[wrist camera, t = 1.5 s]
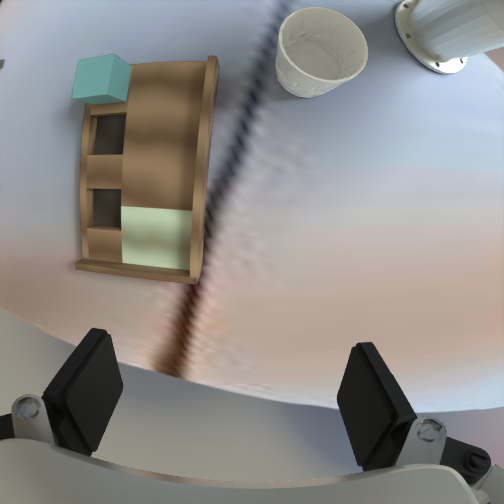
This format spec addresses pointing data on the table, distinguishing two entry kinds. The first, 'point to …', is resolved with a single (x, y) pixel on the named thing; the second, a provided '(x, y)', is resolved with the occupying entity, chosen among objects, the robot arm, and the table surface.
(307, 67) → the white cup
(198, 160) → the board
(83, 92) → the block
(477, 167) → the table surface
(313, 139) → the table surface
